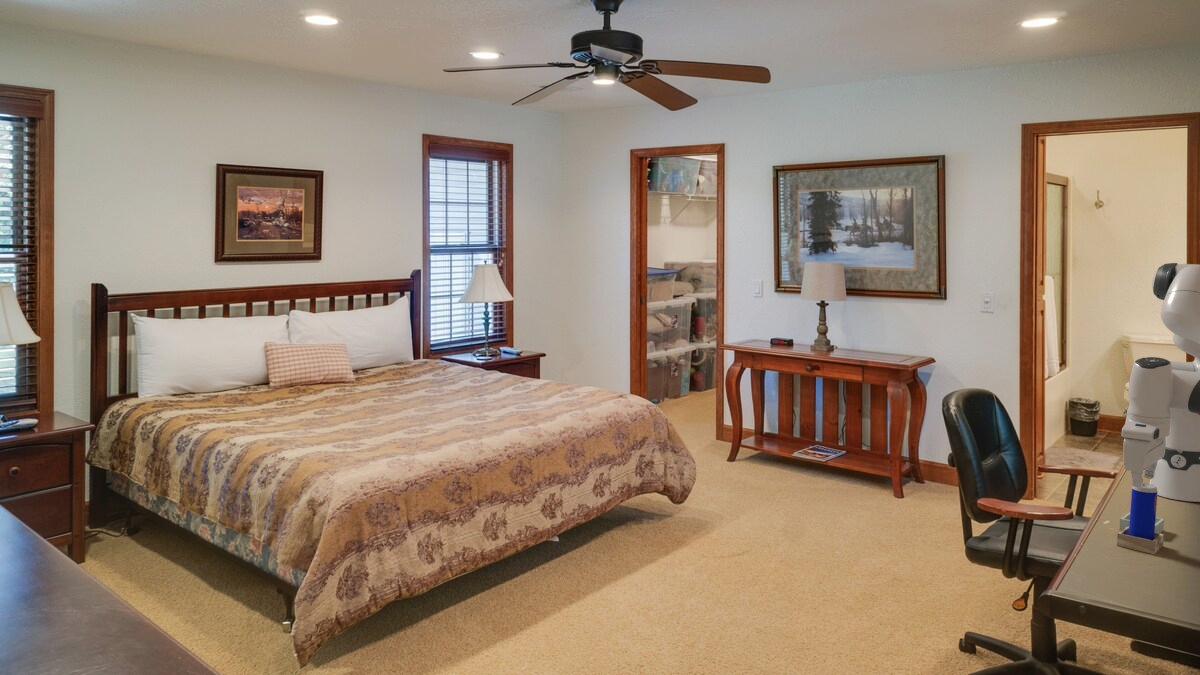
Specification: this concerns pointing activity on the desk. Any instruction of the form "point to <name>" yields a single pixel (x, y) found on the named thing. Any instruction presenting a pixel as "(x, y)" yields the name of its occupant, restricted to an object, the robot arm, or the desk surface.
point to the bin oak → (1140, 542)
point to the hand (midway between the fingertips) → (1143, 482)
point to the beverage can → (1143, 511)
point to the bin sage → (1126, 521)
